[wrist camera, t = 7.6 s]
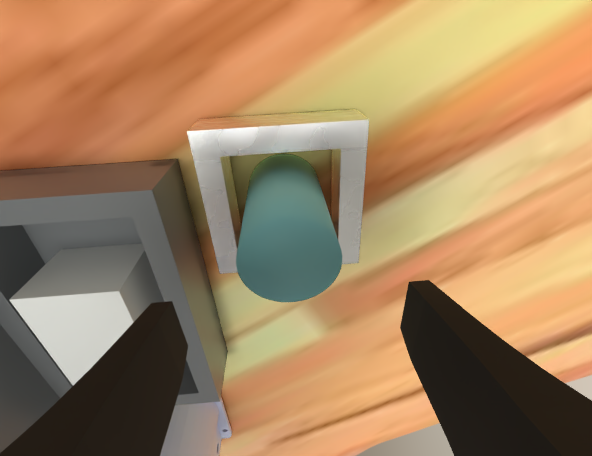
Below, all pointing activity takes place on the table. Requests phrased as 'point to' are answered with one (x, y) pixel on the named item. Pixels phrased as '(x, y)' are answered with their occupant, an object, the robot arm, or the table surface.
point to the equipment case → (96, 279)
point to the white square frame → (277, 139)
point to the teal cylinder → (287, 233)
